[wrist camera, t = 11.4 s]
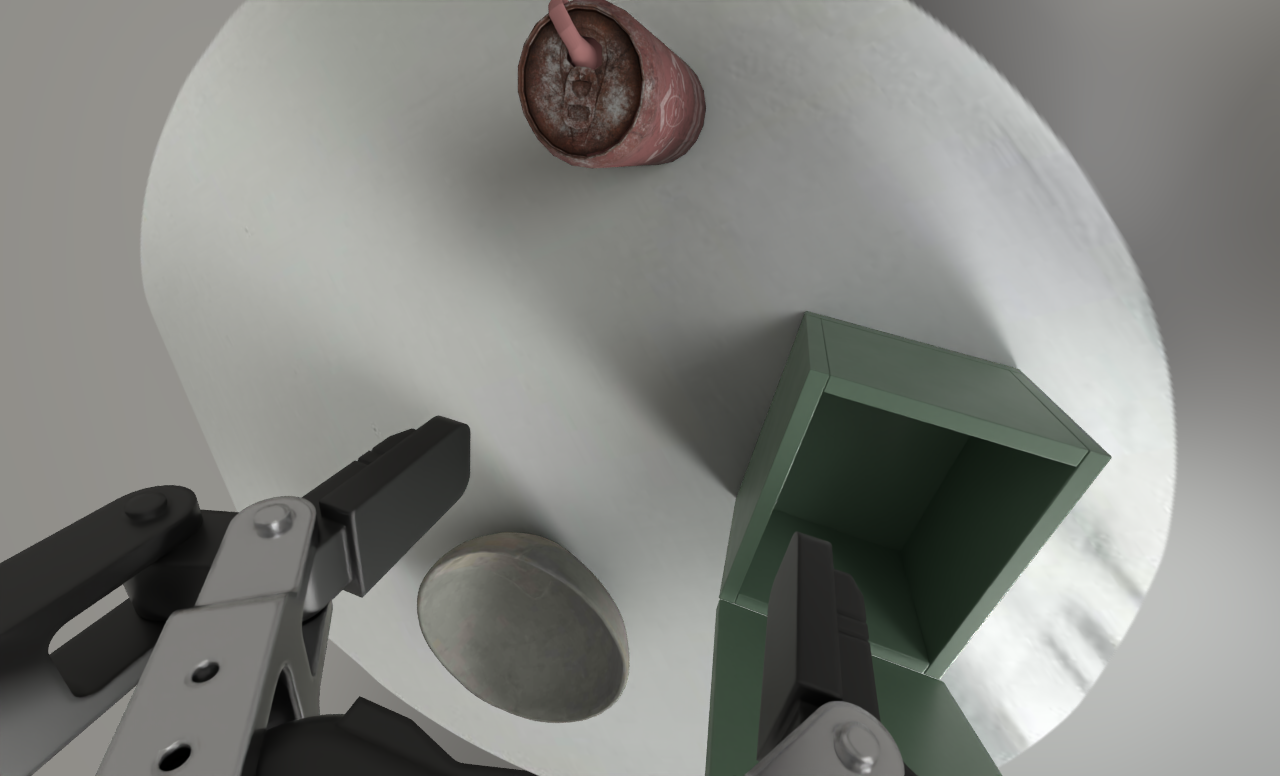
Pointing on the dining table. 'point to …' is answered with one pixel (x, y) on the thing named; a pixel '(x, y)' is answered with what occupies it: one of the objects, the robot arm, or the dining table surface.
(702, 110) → the can
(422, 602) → the bowl
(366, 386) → the dining table surface
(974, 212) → the dining table surface
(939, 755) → the lid
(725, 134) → the dining table surface
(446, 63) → the dining table surface
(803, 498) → the chest
